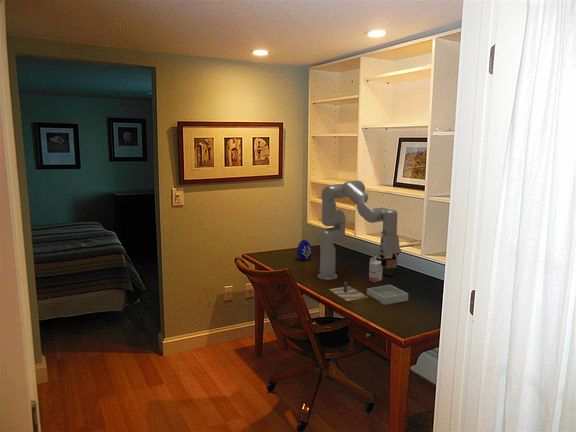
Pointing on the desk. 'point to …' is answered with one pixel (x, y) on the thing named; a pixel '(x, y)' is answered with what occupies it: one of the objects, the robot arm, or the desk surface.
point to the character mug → (390, 270)
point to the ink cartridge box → (375, 270)
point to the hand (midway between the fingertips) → (388, 264)
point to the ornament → (304, 250)
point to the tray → (387, 294)
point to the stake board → (348, 293)
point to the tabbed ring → (390, 263)
